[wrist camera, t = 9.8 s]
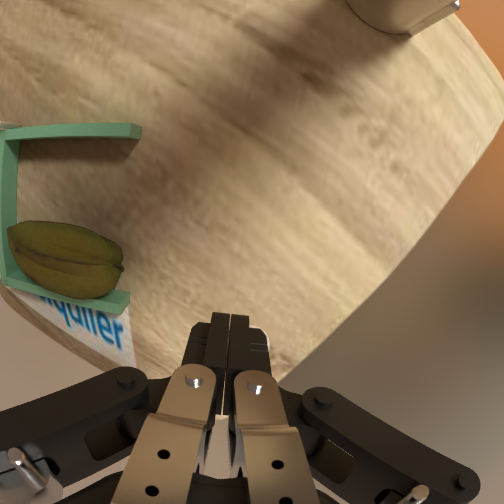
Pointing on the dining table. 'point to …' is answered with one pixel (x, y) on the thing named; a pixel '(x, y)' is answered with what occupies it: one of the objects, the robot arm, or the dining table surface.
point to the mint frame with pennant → (4, 201)
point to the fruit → (66, 258)
